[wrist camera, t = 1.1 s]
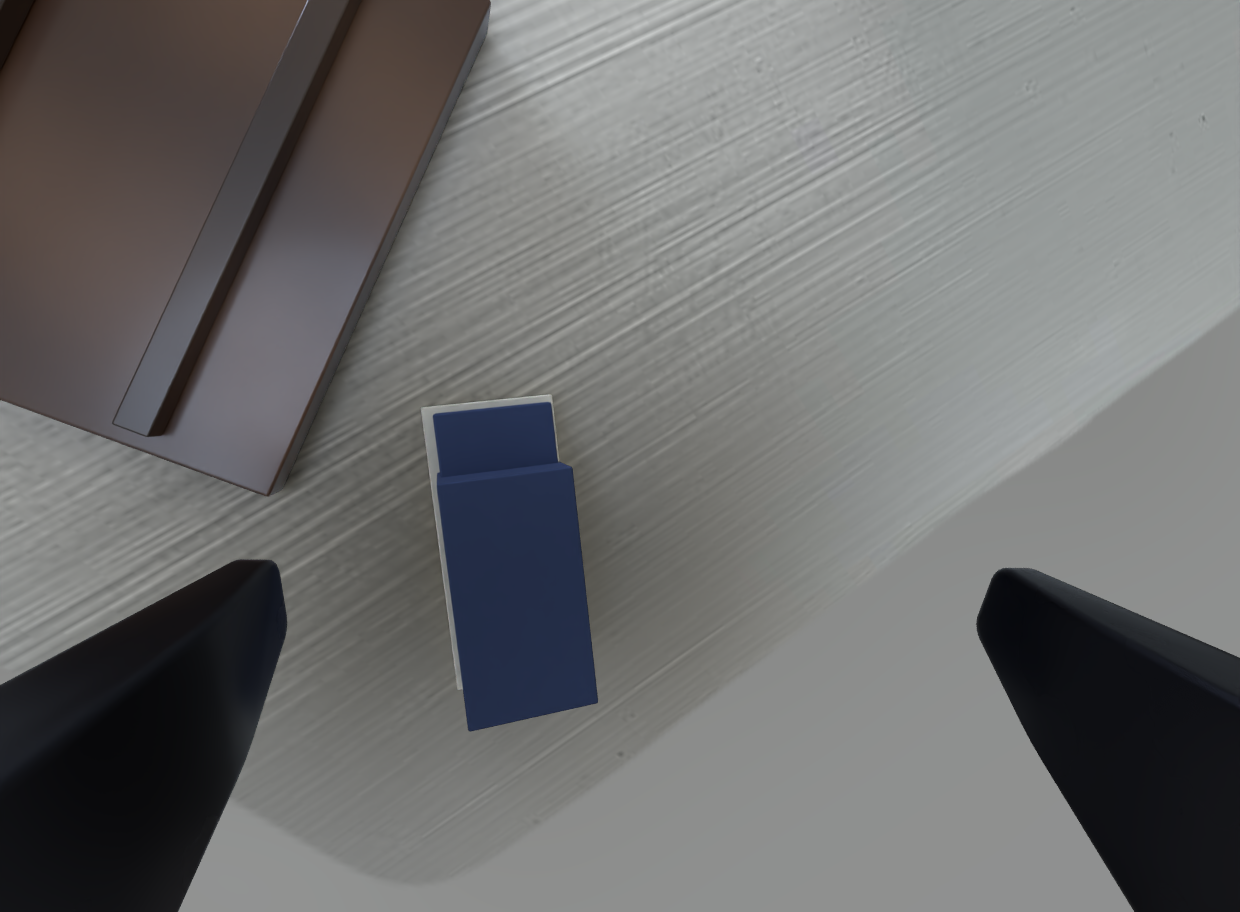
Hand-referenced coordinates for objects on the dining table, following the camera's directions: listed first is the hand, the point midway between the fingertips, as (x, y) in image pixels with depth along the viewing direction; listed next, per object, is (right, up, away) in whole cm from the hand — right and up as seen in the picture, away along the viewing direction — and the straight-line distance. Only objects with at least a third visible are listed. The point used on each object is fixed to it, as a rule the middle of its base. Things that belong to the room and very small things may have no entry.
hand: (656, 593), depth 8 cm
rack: (-12, +10, +9) cm, 18 cm away
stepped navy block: (-4, -1, +11) cm, 12 cm away
